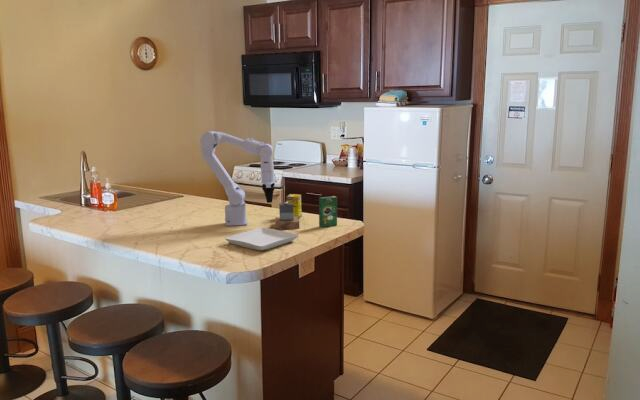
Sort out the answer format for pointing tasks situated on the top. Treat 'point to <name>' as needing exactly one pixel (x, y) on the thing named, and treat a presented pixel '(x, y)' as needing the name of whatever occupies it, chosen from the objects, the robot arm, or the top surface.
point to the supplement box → (295, 204)
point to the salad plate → (262, 238)
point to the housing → (286, 211)
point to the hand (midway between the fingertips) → (269, 200)
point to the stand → (287, 223)
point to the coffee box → (327, 211)
